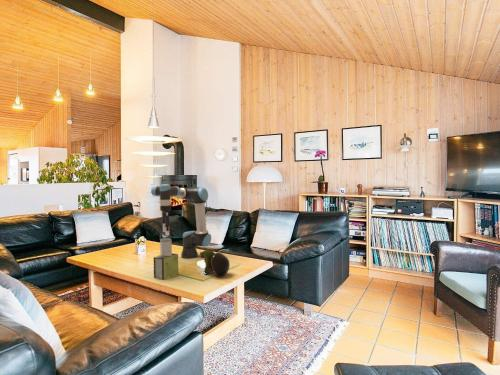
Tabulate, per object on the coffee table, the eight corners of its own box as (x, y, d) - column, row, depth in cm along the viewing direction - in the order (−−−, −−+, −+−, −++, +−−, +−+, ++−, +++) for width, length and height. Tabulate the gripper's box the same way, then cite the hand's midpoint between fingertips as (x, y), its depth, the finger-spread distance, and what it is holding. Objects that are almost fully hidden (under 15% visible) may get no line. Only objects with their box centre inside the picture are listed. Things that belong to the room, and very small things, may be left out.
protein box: (178, 274, 235) (178, 254, 234) (163, 280, 222) (163, 258, 221) (168, 272, 240) (168, 252, 240) (153, 277, 227) (153, 256, 226)
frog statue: (217, 285, 224) (192, 270, 236) (230, 278, 237) (205, 264, 249) (222, 262, 220) (196, 248, 232) (235, 256, 233) (209, 243, 245)
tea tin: (170, 253, 235) (169, 238, 235) (172, 256, 229) (171, 239, 228) (160, 254, 232) (159, 238, 232) (161, 257, 225) (161, 240, 225)
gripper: (158, 203, 239) (158, 231, 240) (162, 207, 216) (163, 237, 217) (168, 203, 242) (168, 230, 243) (173, 206, 219) (174, 236, 220)
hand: (166, 233), depth 230 cm, fingers open, 13 cm apart
